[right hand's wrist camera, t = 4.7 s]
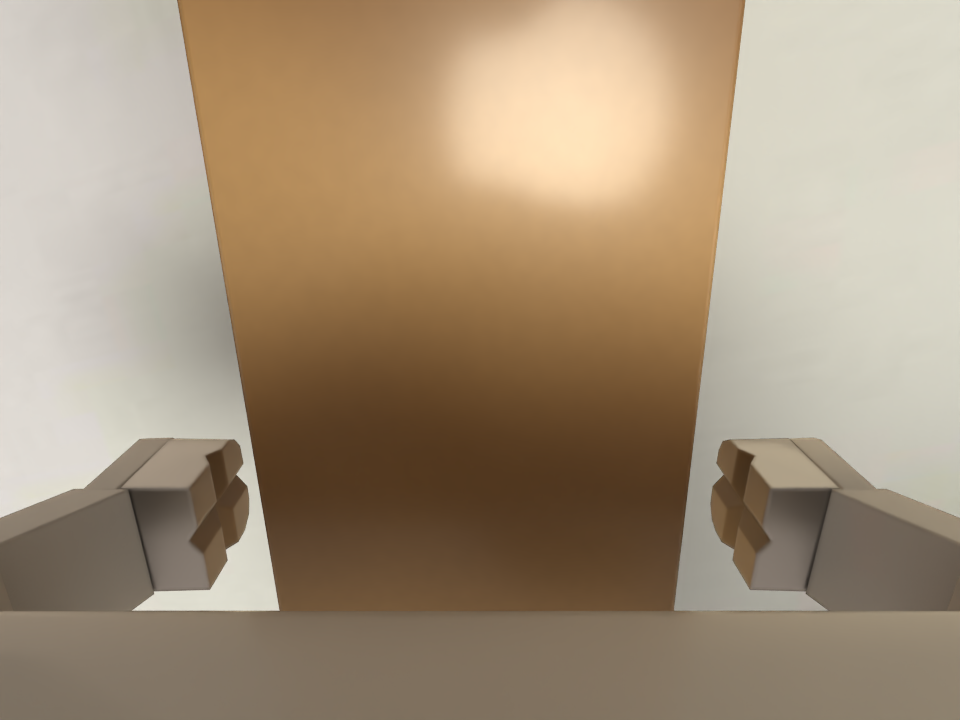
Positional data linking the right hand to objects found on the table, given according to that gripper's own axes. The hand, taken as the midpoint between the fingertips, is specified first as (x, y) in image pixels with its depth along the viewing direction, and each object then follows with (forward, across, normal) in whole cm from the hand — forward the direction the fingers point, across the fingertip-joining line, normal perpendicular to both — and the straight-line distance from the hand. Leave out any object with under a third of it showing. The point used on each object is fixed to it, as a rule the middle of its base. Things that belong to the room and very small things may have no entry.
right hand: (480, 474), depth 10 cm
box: (+11, 0, +7) cm, 13 cm away
